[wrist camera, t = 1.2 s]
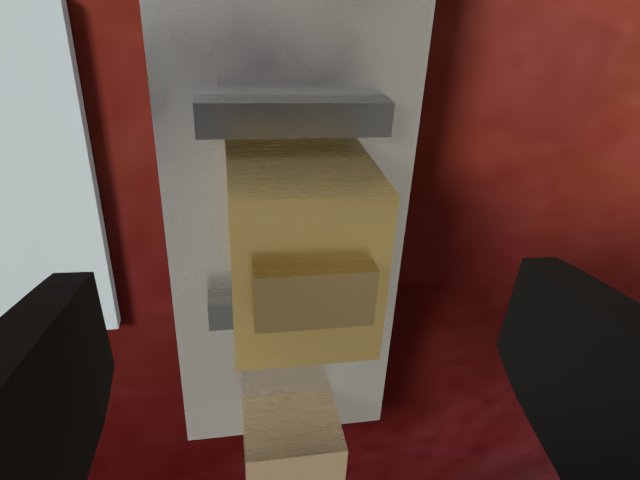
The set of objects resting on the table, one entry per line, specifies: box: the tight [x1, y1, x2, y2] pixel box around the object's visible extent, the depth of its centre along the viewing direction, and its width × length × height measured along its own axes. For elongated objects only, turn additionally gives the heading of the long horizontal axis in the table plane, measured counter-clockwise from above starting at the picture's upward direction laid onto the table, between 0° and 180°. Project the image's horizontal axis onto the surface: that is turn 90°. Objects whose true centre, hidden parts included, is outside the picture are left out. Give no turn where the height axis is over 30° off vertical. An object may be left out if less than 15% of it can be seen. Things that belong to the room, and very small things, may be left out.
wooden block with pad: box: [225, 138, 400, 372], centre depth 15 cm, size 5×4×5 cm
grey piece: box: [139, 0, 436, 480], centre depth 17 cm, size 20×8×6 cm, turn 178°
